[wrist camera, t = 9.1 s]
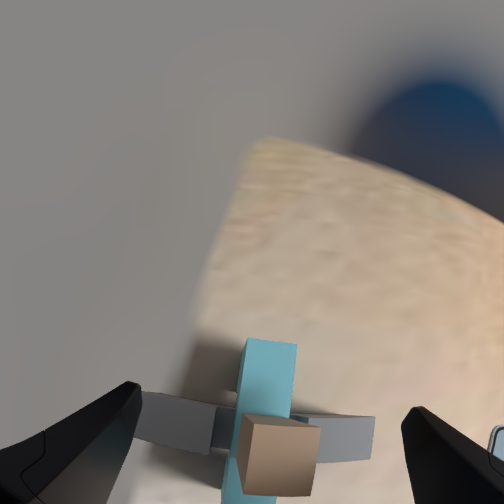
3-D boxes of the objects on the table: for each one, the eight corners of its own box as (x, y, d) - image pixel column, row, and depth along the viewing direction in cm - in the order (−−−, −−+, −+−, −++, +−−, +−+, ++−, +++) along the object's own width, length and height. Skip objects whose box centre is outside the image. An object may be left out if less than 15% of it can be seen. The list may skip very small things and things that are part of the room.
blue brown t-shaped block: (259, 493, 13) (297, 575, 4) (221, 489, 13) (220, 574, 4) (278, 357, 18) (337, 311, 9) (242, 353, 18) (261, 301, 9)
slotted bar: (340, 414, 16) (375, 416, 12) (335, 447, 15) (370, 459, 10) (161, 393, 16) (140, 391, 12) (155, 427, 15) (132, 436, 10)
